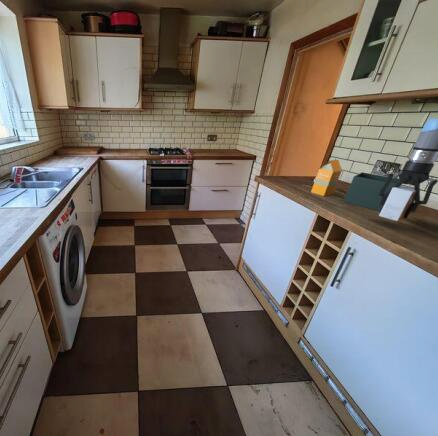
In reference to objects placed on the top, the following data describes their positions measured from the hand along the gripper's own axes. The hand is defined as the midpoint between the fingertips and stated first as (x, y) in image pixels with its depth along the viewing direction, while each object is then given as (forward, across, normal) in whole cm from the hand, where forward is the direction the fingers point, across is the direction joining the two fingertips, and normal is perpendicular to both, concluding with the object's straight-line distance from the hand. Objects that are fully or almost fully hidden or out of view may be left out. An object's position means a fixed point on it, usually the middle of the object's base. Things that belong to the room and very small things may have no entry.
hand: (392, 214), depth 98 cm
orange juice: (+5, -34, +25) cm, 42 cm away
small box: (+1, 0, 0) cm, 1 cm away
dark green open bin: (+5, -12, +26) cm, 29 cm away
